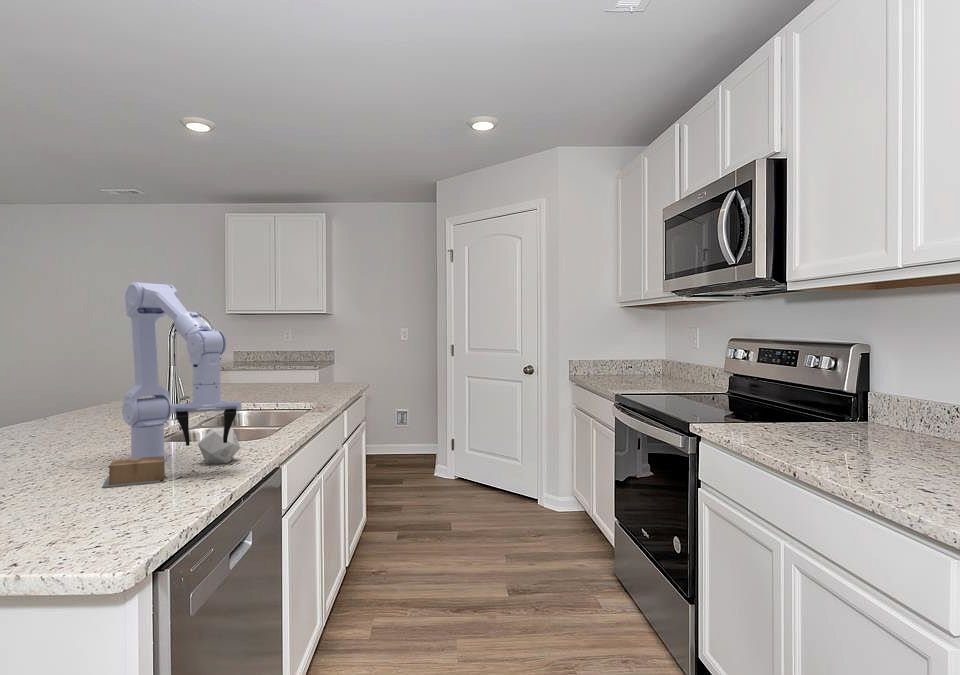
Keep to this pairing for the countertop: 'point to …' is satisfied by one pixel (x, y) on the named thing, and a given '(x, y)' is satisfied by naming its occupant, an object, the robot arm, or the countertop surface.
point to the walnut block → (136, 470)
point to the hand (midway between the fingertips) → (206, 443)
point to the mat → (106, 483)
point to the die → (218, 446)
